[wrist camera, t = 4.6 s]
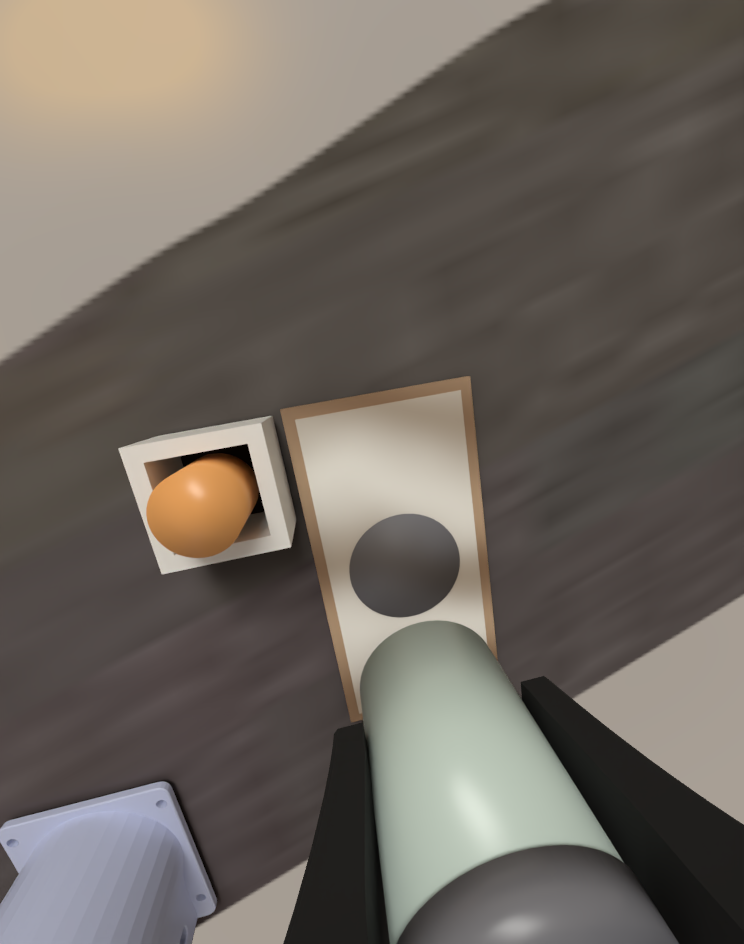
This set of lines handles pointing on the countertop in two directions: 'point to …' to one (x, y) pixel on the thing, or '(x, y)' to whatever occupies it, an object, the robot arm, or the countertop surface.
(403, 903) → the ink stamp
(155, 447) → the button box
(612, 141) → the countertop surface
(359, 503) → the sketch pad
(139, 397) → the countertop surface
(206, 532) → the button
